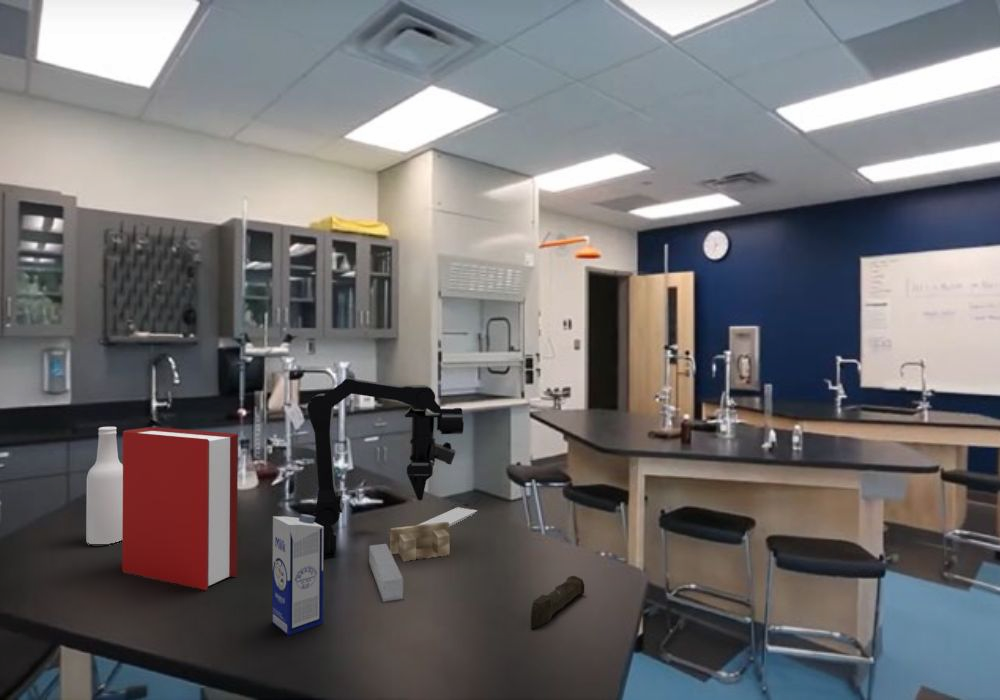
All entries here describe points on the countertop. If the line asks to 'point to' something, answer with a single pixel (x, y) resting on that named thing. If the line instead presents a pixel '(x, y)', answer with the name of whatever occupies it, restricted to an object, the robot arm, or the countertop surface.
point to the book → (180, 505)
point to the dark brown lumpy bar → (555, 600)
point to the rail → (386, 573)
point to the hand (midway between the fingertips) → (421, 495)
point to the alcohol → (105, 492)
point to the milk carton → (297, 573)
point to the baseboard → (452, 516)
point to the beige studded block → (420, 541)
